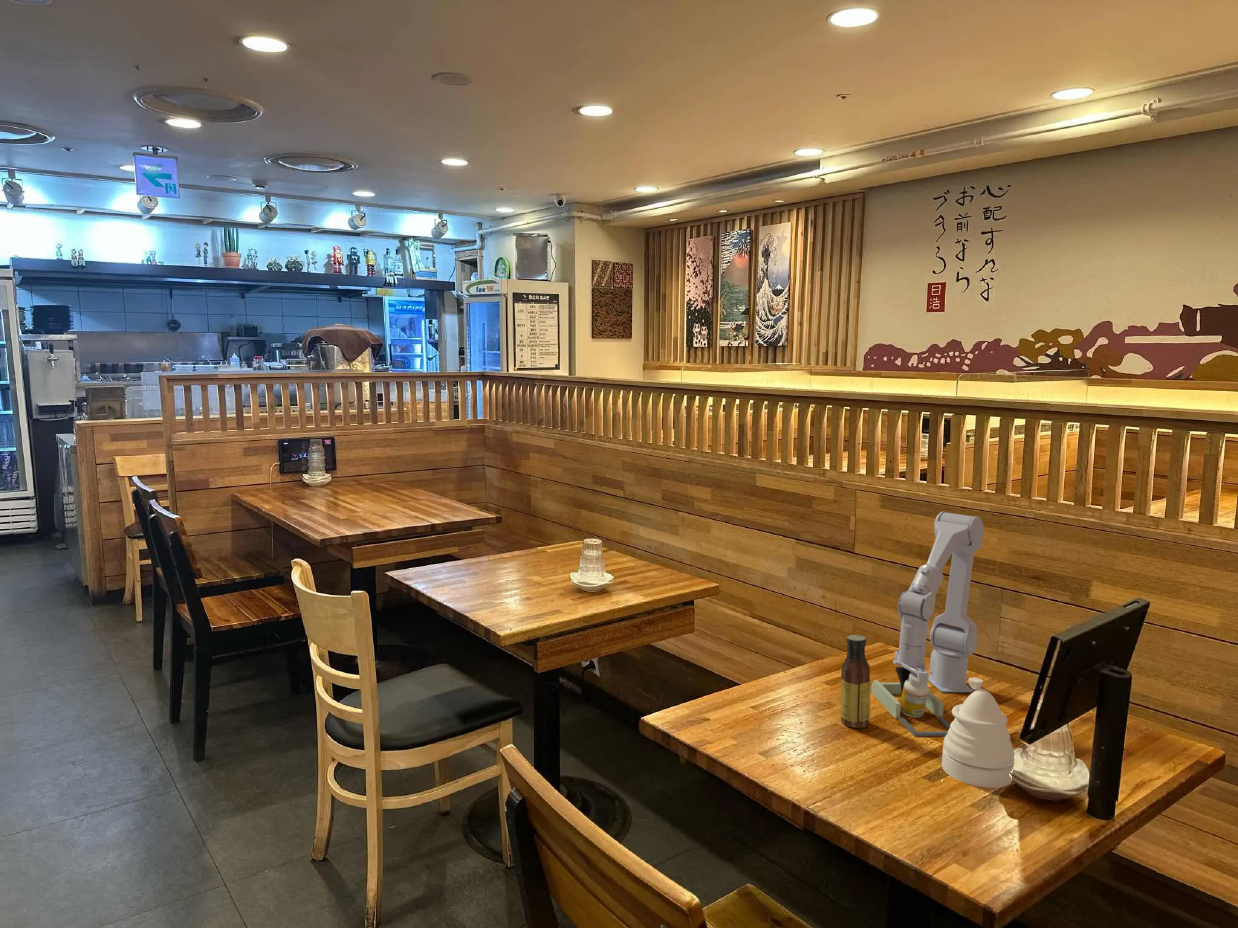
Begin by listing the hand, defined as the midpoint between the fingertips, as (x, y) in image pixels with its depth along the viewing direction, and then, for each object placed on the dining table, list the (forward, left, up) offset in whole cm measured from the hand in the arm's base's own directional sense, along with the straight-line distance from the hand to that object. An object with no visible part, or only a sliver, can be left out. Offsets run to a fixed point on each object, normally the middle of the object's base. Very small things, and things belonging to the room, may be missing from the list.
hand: (907, 699), depth 190 cm
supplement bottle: (+2, 0, -2) cm, 3 cm away
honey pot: (+30, +2, -3) cm, 30 cm away
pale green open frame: (-2, +1, -2) cm, 3 cm away
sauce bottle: (+8, -15, -3) cm, 17 cm away
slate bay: (+10, +1, -2) cm, 10 cm away
